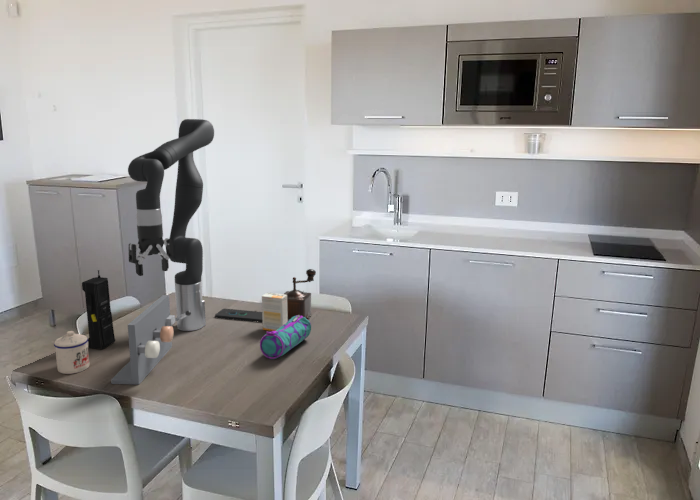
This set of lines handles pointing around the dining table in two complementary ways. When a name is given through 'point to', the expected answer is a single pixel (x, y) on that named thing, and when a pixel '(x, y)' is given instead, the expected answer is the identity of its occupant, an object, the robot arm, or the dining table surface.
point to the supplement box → (274, 311)
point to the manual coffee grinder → (299, 298)
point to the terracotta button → (164, 334)
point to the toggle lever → (183, 315)
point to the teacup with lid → (72, 353)
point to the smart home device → (240, 315)
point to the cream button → (150, 349)
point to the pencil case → (285, 337)
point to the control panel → (145, 341)
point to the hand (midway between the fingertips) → (152, 273)
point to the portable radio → (98, 312)
